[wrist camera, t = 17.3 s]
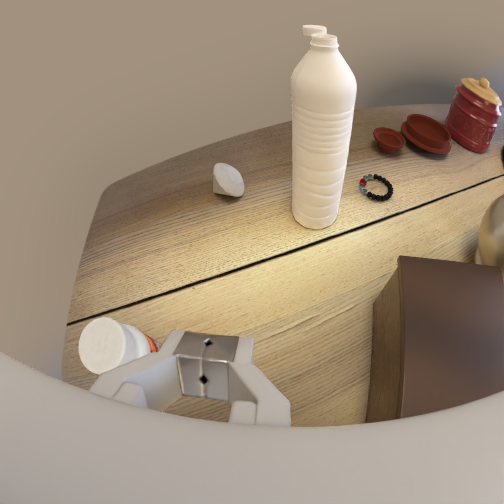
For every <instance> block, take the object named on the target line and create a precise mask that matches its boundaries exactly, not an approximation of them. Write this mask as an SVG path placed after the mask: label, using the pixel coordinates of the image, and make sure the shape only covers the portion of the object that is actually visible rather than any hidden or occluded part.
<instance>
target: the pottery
mask: <svg viewBox="0 0 504 504" xmlns="http://www.w3.org/2000/svg"><path fill="white" fill-rule="evenodd" d="M401 130H402V132H403V134H404V135H405V137H406V138H407V139H408V140H410V141H411V142H412V143H414V144H415V145H416V146H417V147H419V148H420V149H422V150H424V151H427V152H432V153H437V154H446V153H448V152H449V151H450V150H451V145H450V142H449V141H450V139H451V135H450V133H449V131H448V130H447V129H446V128H445V127H444V126H443V125H442V124H440V123H439V122H438V121H436V120H434V119H432V118H430V117H427V116H424V115H420V114H411V115H409V116H408V117H407V121H405V122H403V123H402V125H401ZM373 134H374V137H375V139H376V141H377V143H378V144H379V145H380V147H379V148H380V150H381V151H382V152H384V153H386V154H392V153H394V151H395V150H398V149H399V148H402V147H403V146H404V145H405V143H406V141H405V138H404V137H403V136H402V135H401V134H400V133H399V132H397V131H395V130H393V129H390V128H384V127H381V128H377V129H375V130H374V132H373Z"/></svg>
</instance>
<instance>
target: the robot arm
mask: <svg viewBox="0 0 504 504" xmlns="http://www.w3.org/2000/svg"><path fill="white" fill-rule="evenodd" d="M253 355H254V337H239V336H223V335H213V334H206V333H198V332H191V331H184V330H176V329H174V330H172V331H171V332H170V334H169V335H168V337H167V338H166V340H165V341H164V343H163V344H162V346H161V347H160V349H159V351H158V352H152V353H149V354H147V355H145V356H142V357H140V358H138V359H135V360H133V361H130V362H128V363H126V364H123V365H121V366H118V367H116V368H113V369H111V370H108V371H106V372H103V373H101V375H100V376H99V377H98V378H97V380H96V381H95V382H94V383H93V385H92V386H91V387H90V388H89V390H88V391H87V390H84V389H81V388H78V387H76V386H73V385H71V384H68V383H66V382H63V381H60V380H58V379H56V378H53V377H51V376H49V375H46V374H44V373H42V372H40V371H38V370H36V369H33V368H32V367H29V366H27V365H25V364H23V363H21V362H19V361H17V360H16V359H14V358H12V357H10V356H8V355H6V354H4V353H3V352H1V351H0V504H504V391H501V392H499V393H496V394H493V395H490V396H488V397H485V398H482V399H479V400H476V401H473V402H469V403H466V404H463V405H459V406H456V407H452V408H448V409H444V410H440V411H436V412H432V413H427V414H423V415H418V416H412V417H407V418H401V419H395V420H388V421H381V422H373V423H364V424H354V425H340V426H320V427H291V414H290V402H289V401H288V400H287V399H286V398H285V397H284V395H283V394H282V393H281V392H280V391H279V390H278V389H277V388H276V387H275V386H274V385H273V384H272V383H271V382H270V380H269V379H268V378H267V377H266V376H265V375H264V374H263V373H262V372H261V371H260V369H259V368H258V367H257V366H256V365H255V364H253ZM182 395H184V396H191V397H199V398H207V399H213V400H220V401H228V402H229V403H230V405H231V411H230V416H229V420H228V423H226V422H218V421H210V420H203V419H197V418H191V417H185V416H180V415H174V414H169V413H164V412H162V411H163V410H164V409H166V408H167V407H169V406H170V405H171V404H173V403H174V402H175V401H177V400H178V399H179V398H181V397H182Z"/></svg>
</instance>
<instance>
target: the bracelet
mask: <svg viewBox="0 0 504 504" xmlns="http://www.w3.org/2000/svg"><path fill="white" fill-rule="evenodd" d="M372 178H374V179H377V180H378V181H381V182H383V183H385V185H386V186H387V187H388V193H387V194H385V195H384V196H380V195H377V196H376V195H375V194H372V193H371V192H368V193H367V190H366V189H364V188H365V187H364V186H365V185H366V181H367V180H368V179H370V180H371V179H372ZM359 184H360V186H359V188H360V190H361V191H362V193H363V194H366V195H367V197H371V198H372V199H373V200H375V199H376V200H377V201H380V200H381V201H384V200H388V199H389V198H390V197H391V195H392V194H393V188H392V184H390V182H389V181H388V180H386V179H385V178H382V177H381V176H378V175H377V174H374V176H373V175H371V174H369V175H368V176H364V177H363V179H361V180H360V183H359Z"/></svg>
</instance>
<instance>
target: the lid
mask: <svg viewBox="0 0 504 504" xmlns="http://www.w3.org/2000/svg"><path fill="white" fill-rule="evenodd" d="M397 262H398V273H399V285H400V302H401V373H400V389H399V401H398V411H397V419H401V418H407V417H412V416H418V415H423V414H427V413H432V412H436V411H440V410H444V409H448V408H452V407H456V406H459V405H463V404H466V403H469V402H473V401H476V400H479V399H482V398H485V397H488V396H490V395H493V394H496V393H499V392H501V391H504V281H503V276H502V272H501V268H500V267H498V266H490V265H481V264H473V263H464V262H456V261H447V260H438V259H429V258H419V257H410V256H401V255H400V256H399V257H398V259H397Z"/></svg>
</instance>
